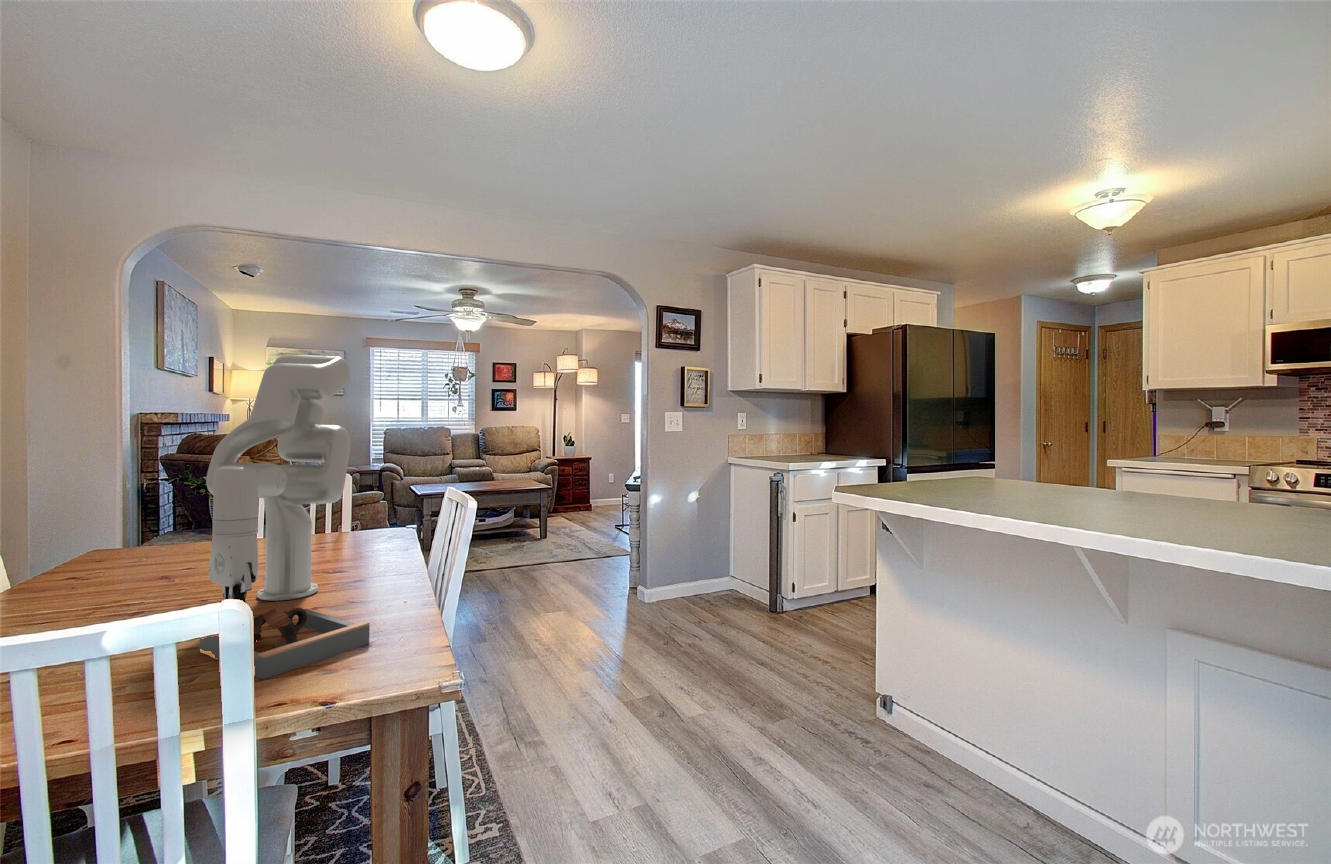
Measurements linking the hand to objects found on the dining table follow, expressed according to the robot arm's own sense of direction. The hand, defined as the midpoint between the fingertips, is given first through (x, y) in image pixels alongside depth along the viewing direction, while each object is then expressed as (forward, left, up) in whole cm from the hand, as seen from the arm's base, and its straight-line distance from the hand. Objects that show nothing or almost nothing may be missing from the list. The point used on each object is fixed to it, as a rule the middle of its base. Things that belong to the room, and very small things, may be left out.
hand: (234, 617), depth 120 cm
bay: (+18, 0, -3) cm, 18 cm away
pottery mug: (+15, 0, -3) cm, 15 cm away
